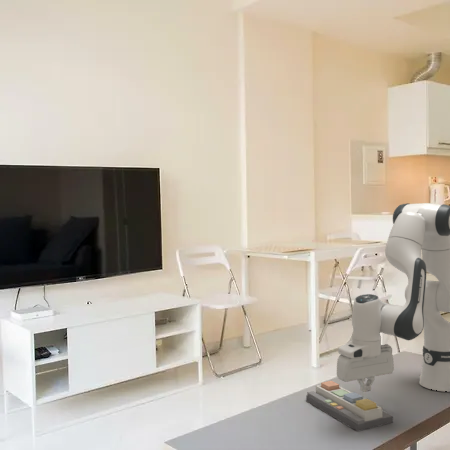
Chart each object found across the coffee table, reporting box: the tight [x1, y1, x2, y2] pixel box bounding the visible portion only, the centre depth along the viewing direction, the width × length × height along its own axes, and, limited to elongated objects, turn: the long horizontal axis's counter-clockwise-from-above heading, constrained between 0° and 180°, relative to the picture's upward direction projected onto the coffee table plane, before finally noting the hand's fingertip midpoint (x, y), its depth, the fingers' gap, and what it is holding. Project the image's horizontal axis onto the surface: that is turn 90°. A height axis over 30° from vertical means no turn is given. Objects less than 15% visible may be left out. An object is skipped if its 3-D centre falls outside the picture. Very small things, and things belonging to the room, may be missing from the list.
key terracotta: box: [320, 380, 340, 391], centre depth 186 cm, size 4×4×2 cm
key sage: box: [332, 390, 348, 397], centre depth 181 cm, size 4×4×2 cm
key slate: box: [344, 391, 364, 404], centre depth 175 cm, size 4×4×2 cm
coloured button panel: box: [305, 384, 394, 432], centre depth 178 cm, size 14×27×5 cm, turn 26°
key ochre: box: [356, 398, 377, 411], centre depth 170 cm, size 4×4×2 cm
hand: (365, 390), depth 169 cm, fingers closed
